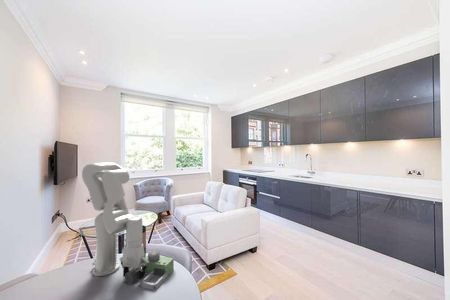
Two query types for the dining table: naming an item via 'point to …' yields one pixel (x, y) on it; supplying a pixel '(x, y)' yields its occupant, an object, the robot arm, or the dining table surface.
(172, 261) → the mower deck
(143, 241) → the travel mug
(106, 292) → the dining table surface
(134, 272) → the ridged grey block
